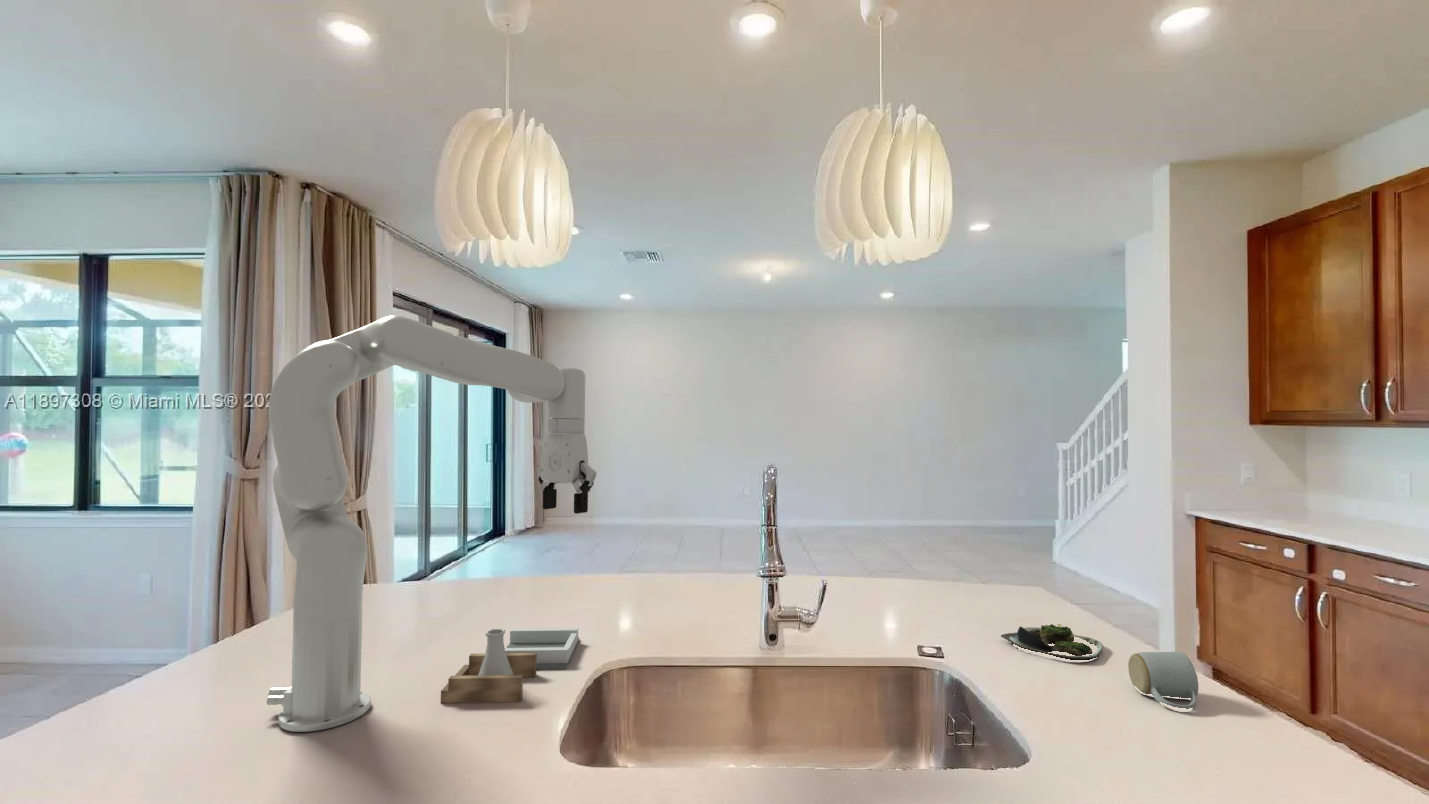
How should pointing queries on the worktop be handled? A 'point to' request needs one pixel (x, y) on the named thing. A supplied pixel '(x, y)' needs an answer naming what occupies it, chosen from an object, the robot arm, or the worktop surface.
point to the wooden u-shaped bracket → (489, 681)
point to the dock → (545, 645)
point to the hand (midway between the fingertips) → (564, 510)
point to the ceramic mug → (1164, 676)
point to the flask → (495, 655)
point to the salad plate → (1053, 641)
